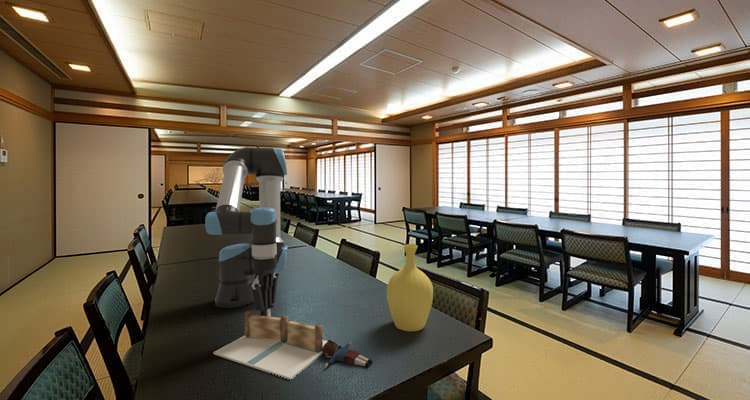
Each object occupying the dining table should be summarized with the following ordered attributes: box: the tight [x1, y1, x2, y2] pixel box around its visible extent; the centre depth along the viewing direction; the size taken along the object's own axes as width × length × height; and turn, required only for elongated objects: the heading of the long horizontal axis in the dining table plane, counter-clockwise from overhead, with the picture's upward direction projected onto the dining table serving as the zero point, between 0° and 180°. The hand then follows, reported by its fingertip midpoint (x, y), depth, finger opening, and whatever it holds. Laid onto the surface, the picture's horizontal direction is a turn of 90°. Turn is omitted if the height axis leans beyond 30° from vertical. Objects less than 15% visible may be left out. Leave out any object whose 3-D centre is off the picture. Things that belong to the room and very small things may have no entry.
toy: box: [322, 339, 373, 369], centre depth 91 cm, size 14×5×15 cm
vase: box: [386, 243, 434, 332], centre depth 113 cm, size 16×16×28 cm
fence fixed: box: [288, 320, 324, 352], centre depth 97 cm, size 12×2×7 cm, turn 65°
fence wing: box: [244, 311, 289, 342], centre depth 101 cm, size 15×2×7 cm, turn 77°
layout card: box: [212, 335, 328, 381], centre depth 97 cm, size 28×20×1 cm
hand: (266, 328), depth 105 cm, fingers closed
